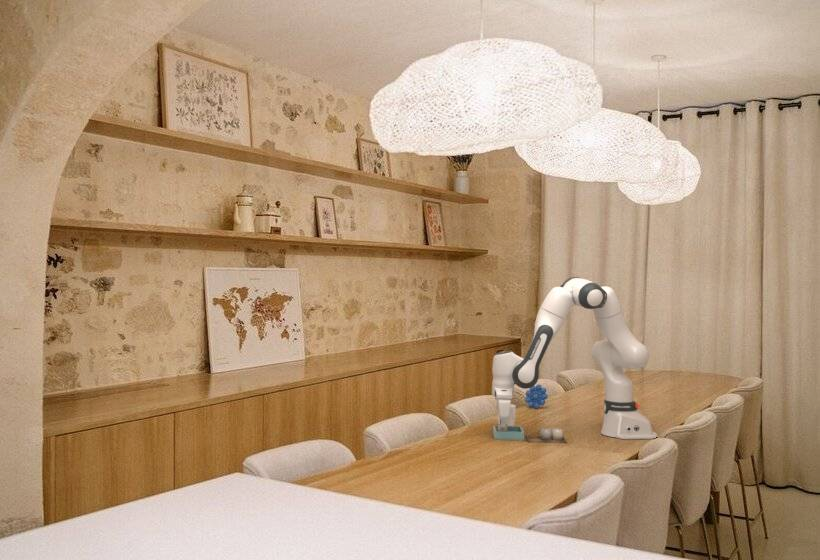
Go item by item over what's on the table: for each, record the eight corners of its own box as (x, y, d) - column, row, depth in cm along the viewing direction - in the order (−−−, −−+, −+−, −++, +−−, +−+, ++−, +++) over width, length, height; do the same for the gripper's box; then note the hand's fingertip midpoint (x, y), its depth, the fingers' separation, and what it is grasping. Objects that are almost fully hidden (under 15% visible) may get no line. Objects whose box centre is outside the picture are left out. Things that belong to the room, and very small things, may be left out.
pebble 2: (550, 439, 295) (550, 428, 295) (551, 441, 291) (552, 430, 291) (540, 439, 295) (540, 427, 295) (541, 441, 291) (541, 429, 291)
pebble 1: (506, 434, 301) (507, 423, 301) (507, 437, 297) (508, 426, 297) (496, 434, 302) (497, 423, 301) (497, 436, 298) (498, 426, 297)
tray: (563, 439, 297) (563, 436, 297) (566, 444, 288) (566, 441, 288) (525, 438, 298) (526, 435, 298) (528, 443, 289) (528, 440, 289)
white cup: (514, 431, 312) (515, 407, 312) (496, 430, 314) (496, 406, 314) (516, 427, 320) (516, 404, 320) (497, 426, 321) (498, 403, 321)
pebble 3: (561, 439, 295) (561, 428, 295) (562, 441, 291) (563, 430, 291) (551, 439, 295) (551, 428, 295) (552, 441, 291) (552, 430, 291)
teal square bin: (521, 434, 305) (521, 426, 305) (524, 441, 293) (524, 432, 293) (492, 434, 305) (493, 425, 305) (494, 440, 294) (494, 431, 294)
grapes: (550, 408, 368) (550, 384, 368) (546, 410, 362) (546, 385, 362) (527, 406, 373) (527, 382, 373) (523, 408, 367) (523, 383, 367)
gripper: (493, 387, 310) (493, 420, 310) (496, 394, 289) (496, 430, 290) (508, 387, 310) (508, 420, 310) (512, 395, 289) (512, 430, 289)
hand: (502, 425), depth 299 cm, fingers open, 5 cm apart
